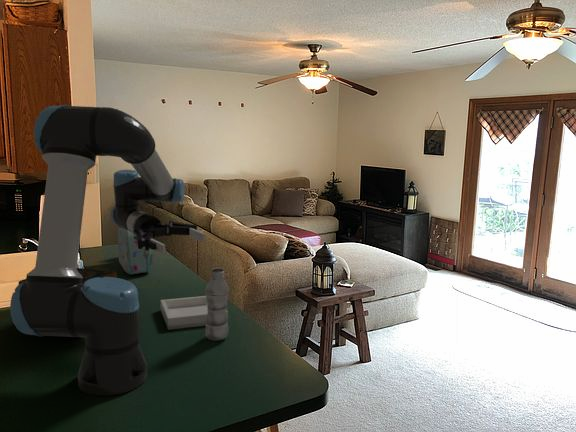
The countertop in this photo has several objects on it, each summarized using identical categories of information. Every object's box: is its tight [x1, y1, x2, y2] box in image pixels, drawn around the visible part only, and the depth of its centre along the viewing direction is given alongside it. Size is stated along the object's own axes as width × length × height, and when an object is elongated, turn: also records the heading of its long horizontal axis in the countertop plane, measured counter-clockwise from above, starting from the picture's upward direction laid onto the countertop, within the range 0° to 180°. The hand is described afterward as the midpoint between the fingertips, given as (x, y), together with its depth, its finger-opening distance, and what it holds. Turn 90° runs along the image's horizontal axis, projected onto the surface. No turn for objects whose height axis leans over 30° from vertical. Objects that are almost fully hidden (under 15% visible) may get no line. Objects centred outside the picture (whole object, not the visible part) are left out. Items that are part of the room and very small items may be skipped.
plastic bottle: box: [204, 268, 230, 342], centre depth 131 cm, size 6×7×20 cm
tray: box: [160, 295, 229, 330], centre depth 148 cm, size 16×18×4 cm
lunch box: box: [117, 225, 153, 275], centre depth 194 cm, size 27×10×21 cm, turn 29°
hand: (184, 243), depth 134 cm, fingers open, 13 cm apart
